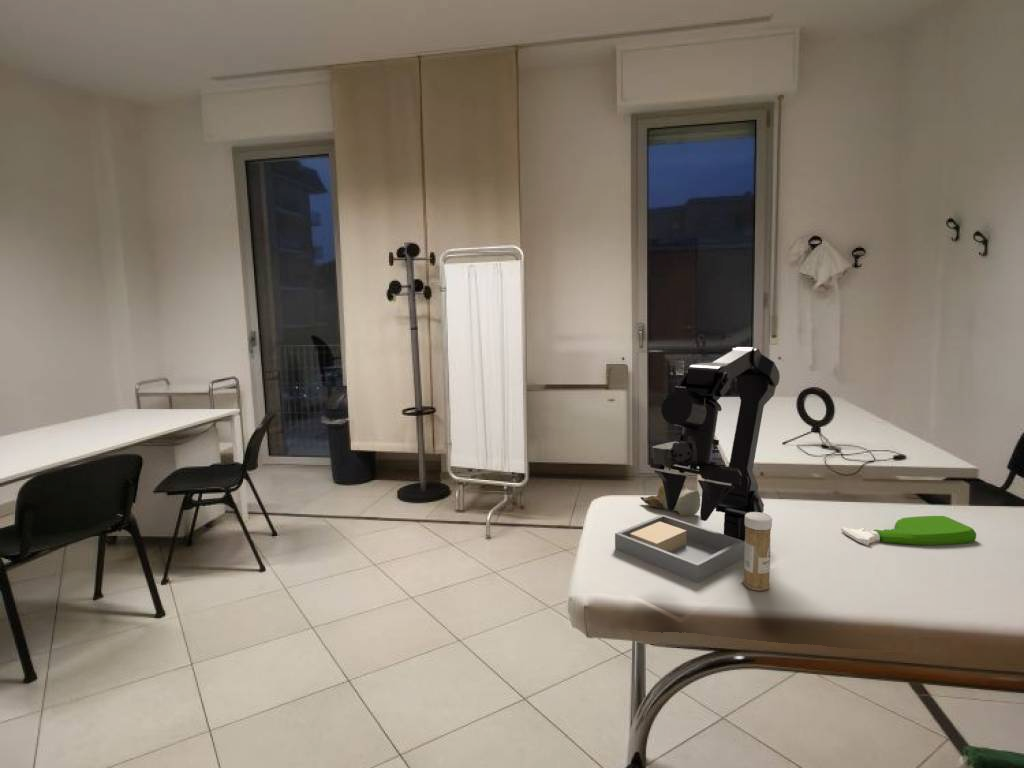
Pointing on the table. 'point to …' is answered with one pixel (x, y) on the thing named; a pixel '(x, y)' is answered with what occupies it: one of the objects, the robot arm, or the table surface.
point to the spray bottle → (918, 532)
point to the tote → (685, 550)
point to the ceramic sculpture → (685, 504)
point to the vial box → (661, 536)
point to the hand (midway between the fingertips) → (686, 515)
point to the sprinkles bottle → (757, 551)
